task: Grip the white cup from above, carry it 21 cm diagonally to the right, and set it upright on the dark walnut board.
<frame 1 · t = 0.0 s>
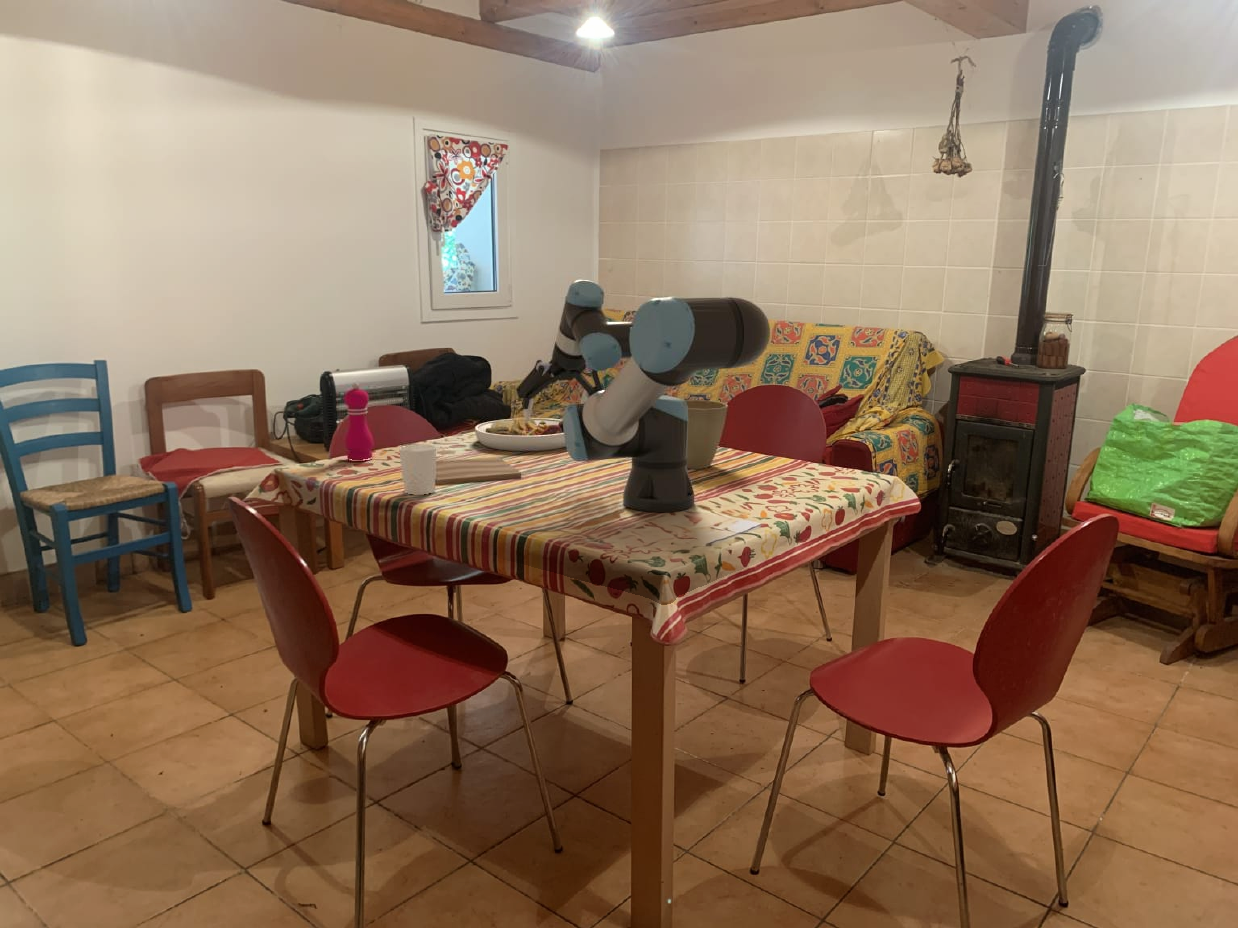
hand: (554, 415, 207), 15 cm above the table, tool tilted 35°, fingers open, 13 cm apart
bowl: (528, 444, 256), on the table
plant pot: (696, 467, 226), on the table
white cup: (419, 492, 198), on the table
pepper mill: (360, 460, 231), on the table
walnut board: (469, 472, 217), on the table
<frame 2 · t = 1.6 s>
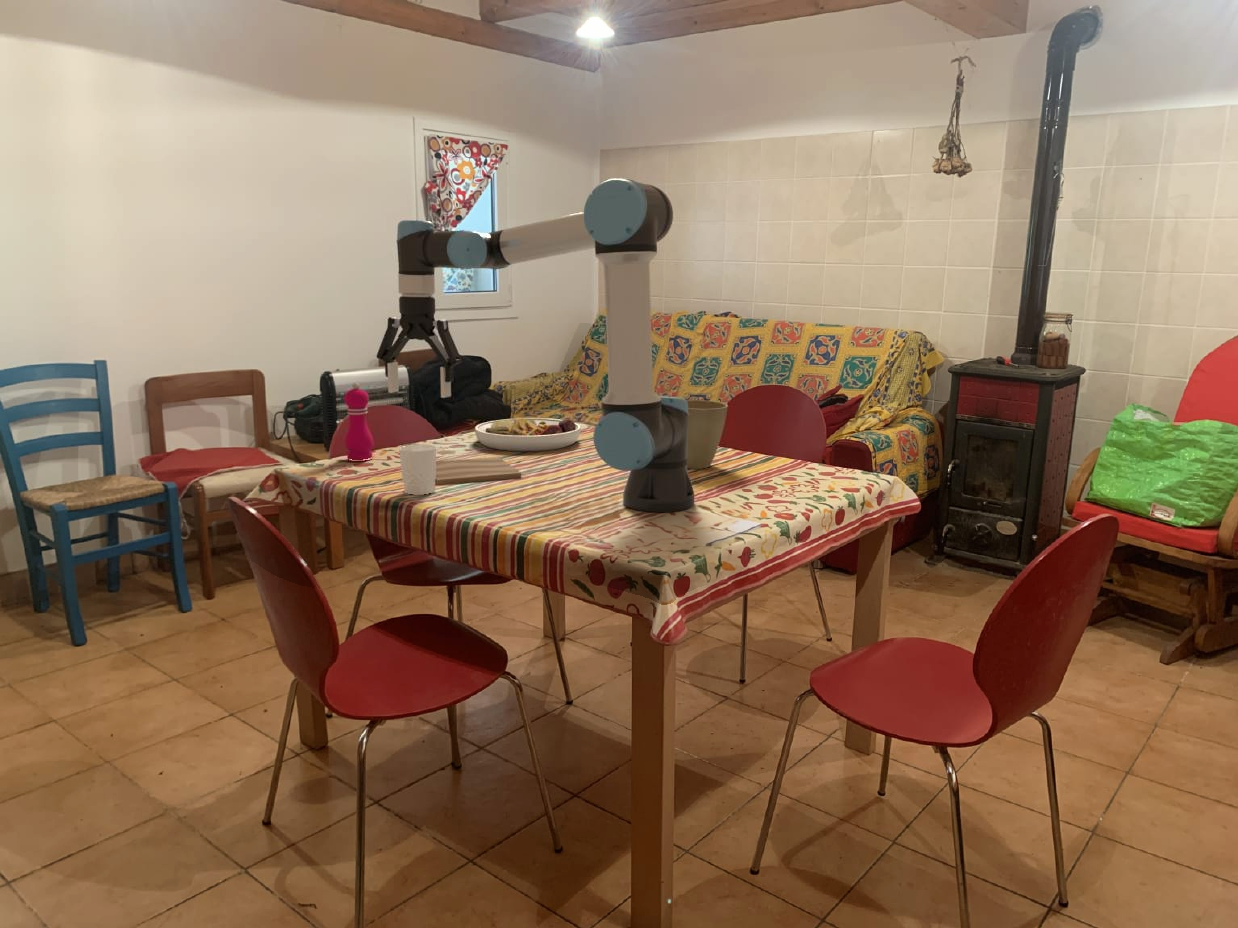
hand: (419, 394, 194), 22 cm above the table, tool pointing down, fingers open, 13 cm apart
nothing on the table moved.
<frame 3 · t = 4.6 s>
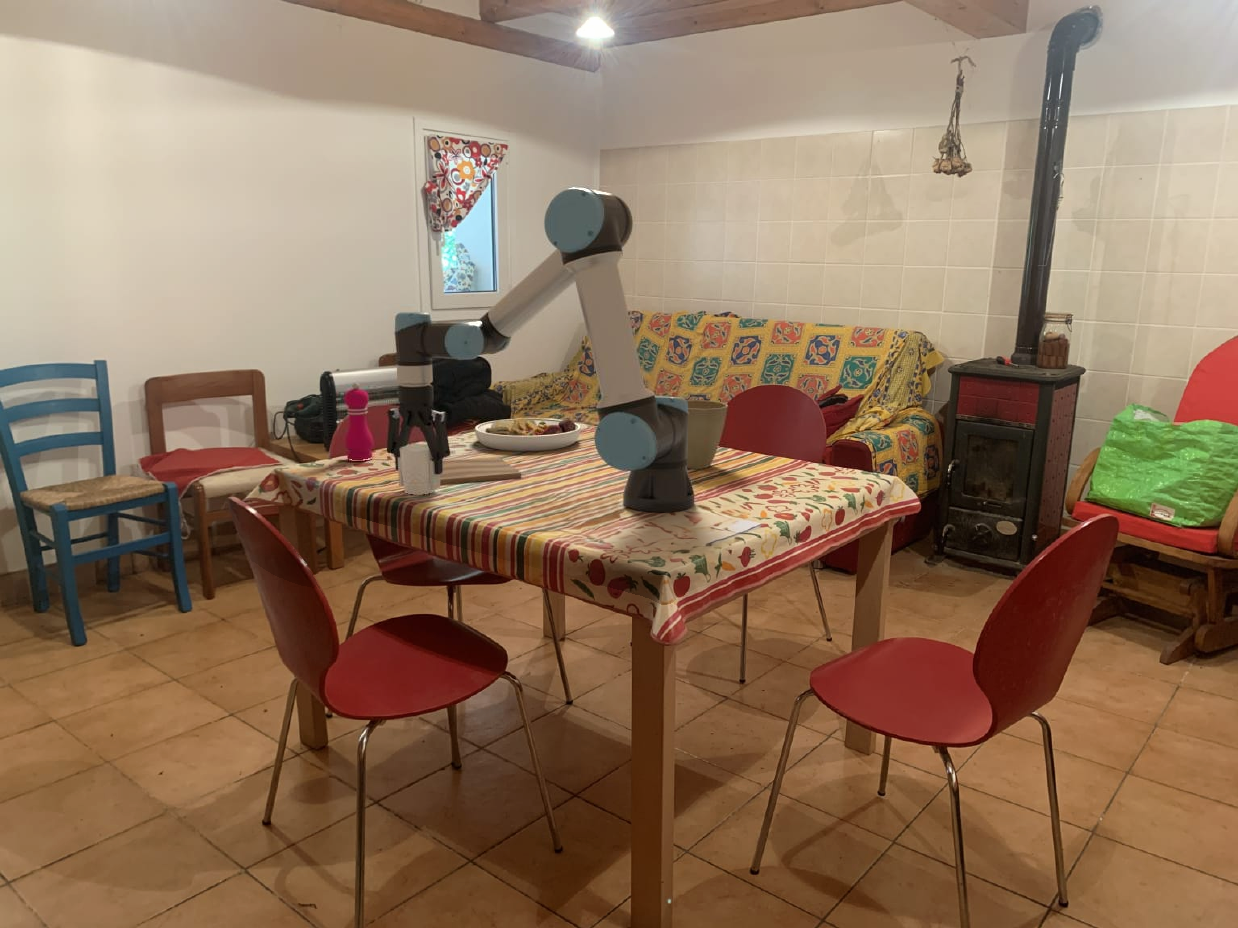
hand: (419, 486, 198), 1 cm above the table, tool pointing down, fingers closed on white cup, 8 cm apart
white cup: (419, 492, 198), on the table, touching gripper
everything else where it was.
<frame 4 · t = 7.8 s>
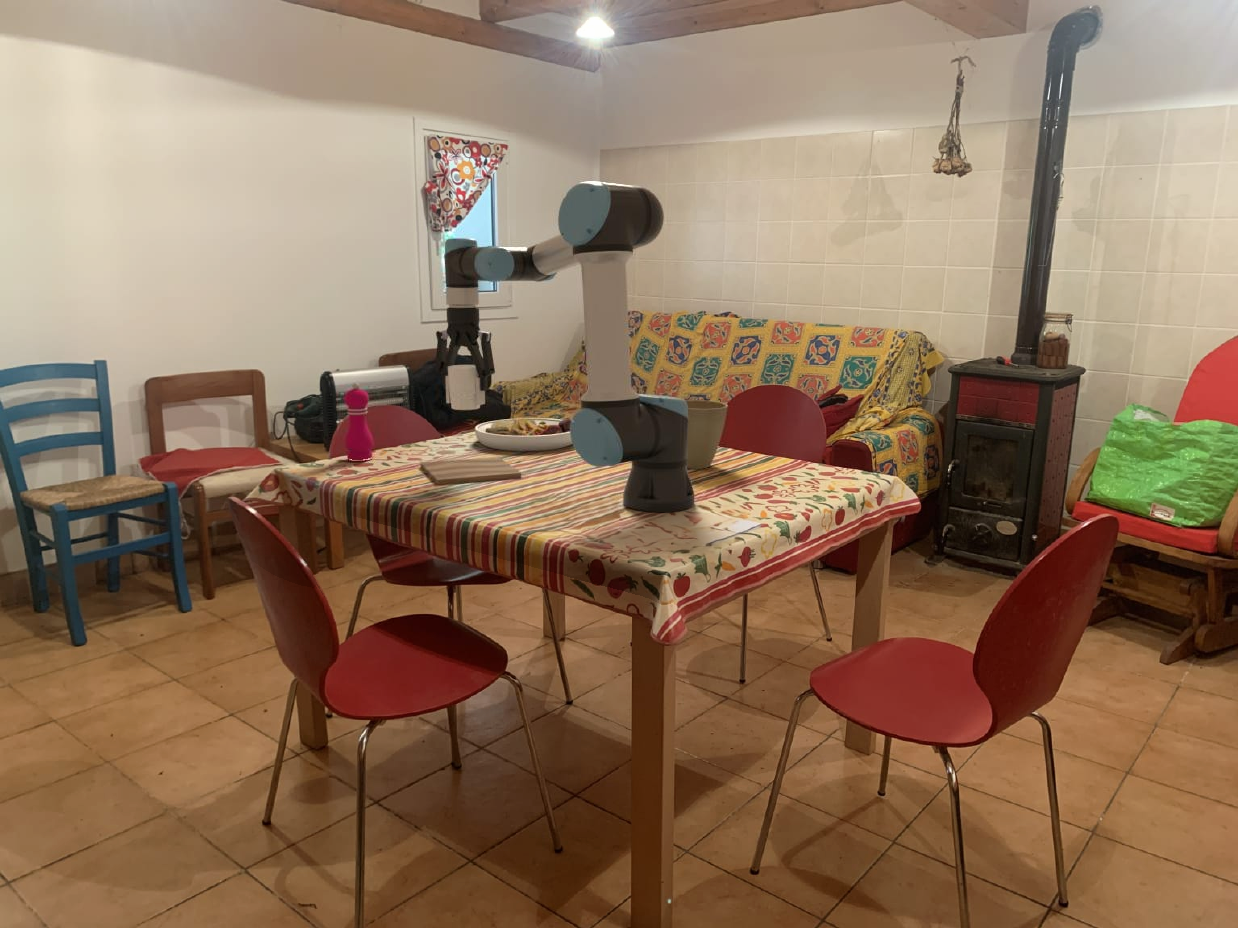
hand: (465, 403, 213), 17 cm above the table, tool pointing down, fingers closed on white cup, 8 cm apart
white cup: (465, 409, 213), point 16 cm above the table, touching gripper
everything else where it was.
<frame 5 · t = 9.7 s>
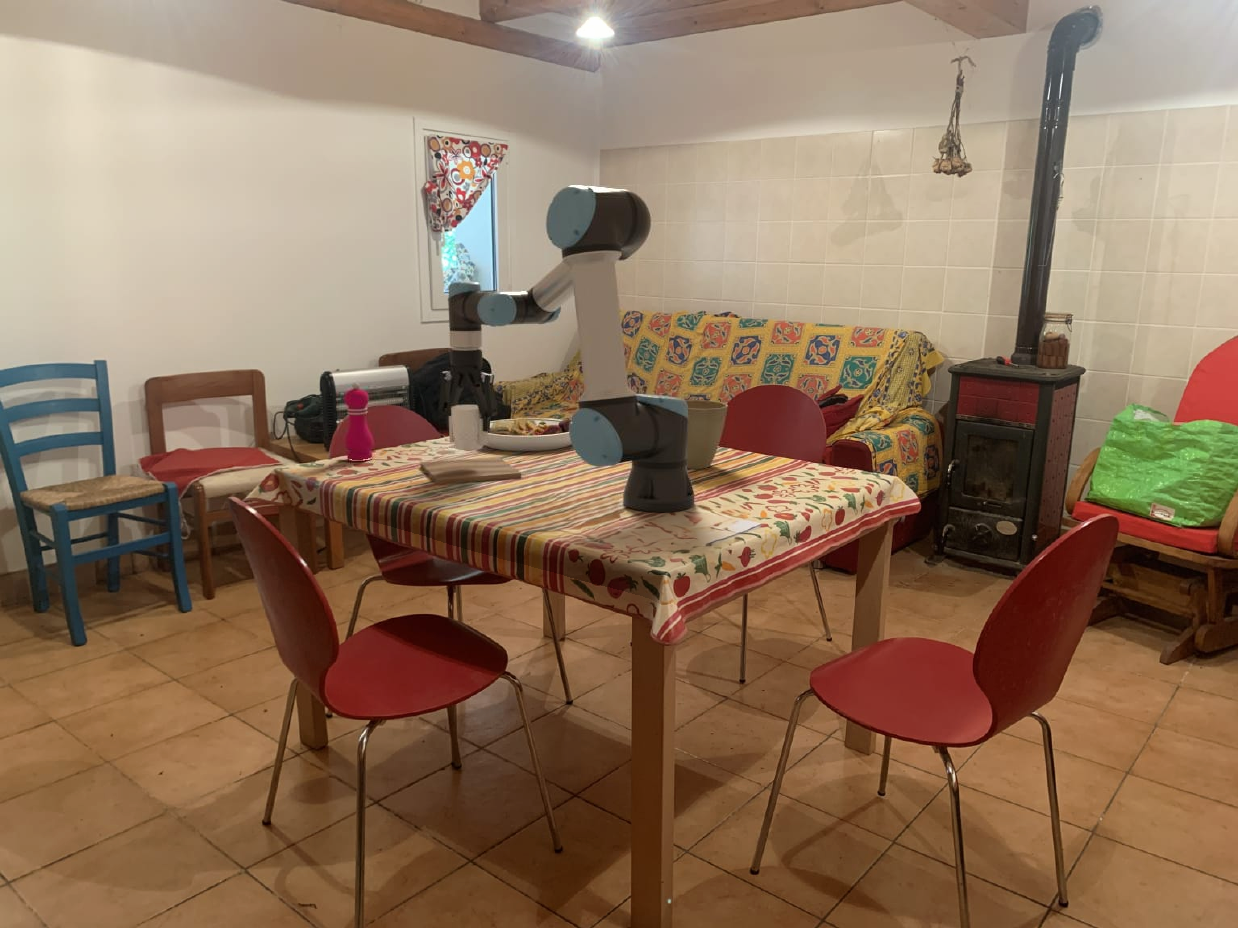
hand: (468, 443, 216), 7 cm above the table, tool pointing down, fingers closed on white cup, 8 cm apart
white cup: (468, 448, 216), point 6 cm above the table, touching gripper
everything else where it was.
when the fingers open (4 cm above the table, at t = 11.2 s): white cup drops 1 cm, point 1 cm above the table.
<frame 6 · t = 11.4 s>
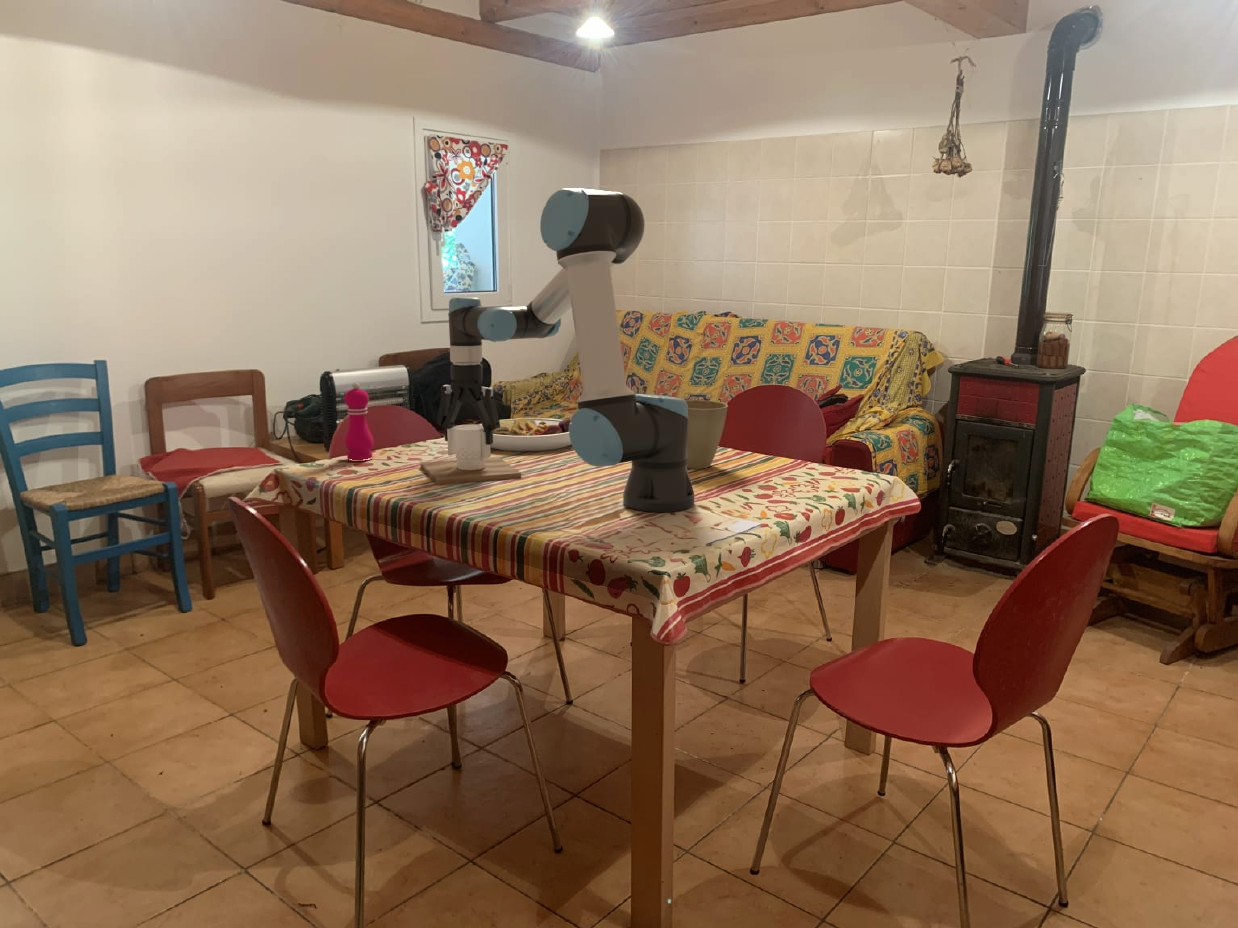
hand: (469, 456, 216), 4 cm above the table, tool pointing down, fingers open, 9 cm apart
white cup: (471, 468, 217), point 1 cm above the table, touching gripper
everything else where it was.
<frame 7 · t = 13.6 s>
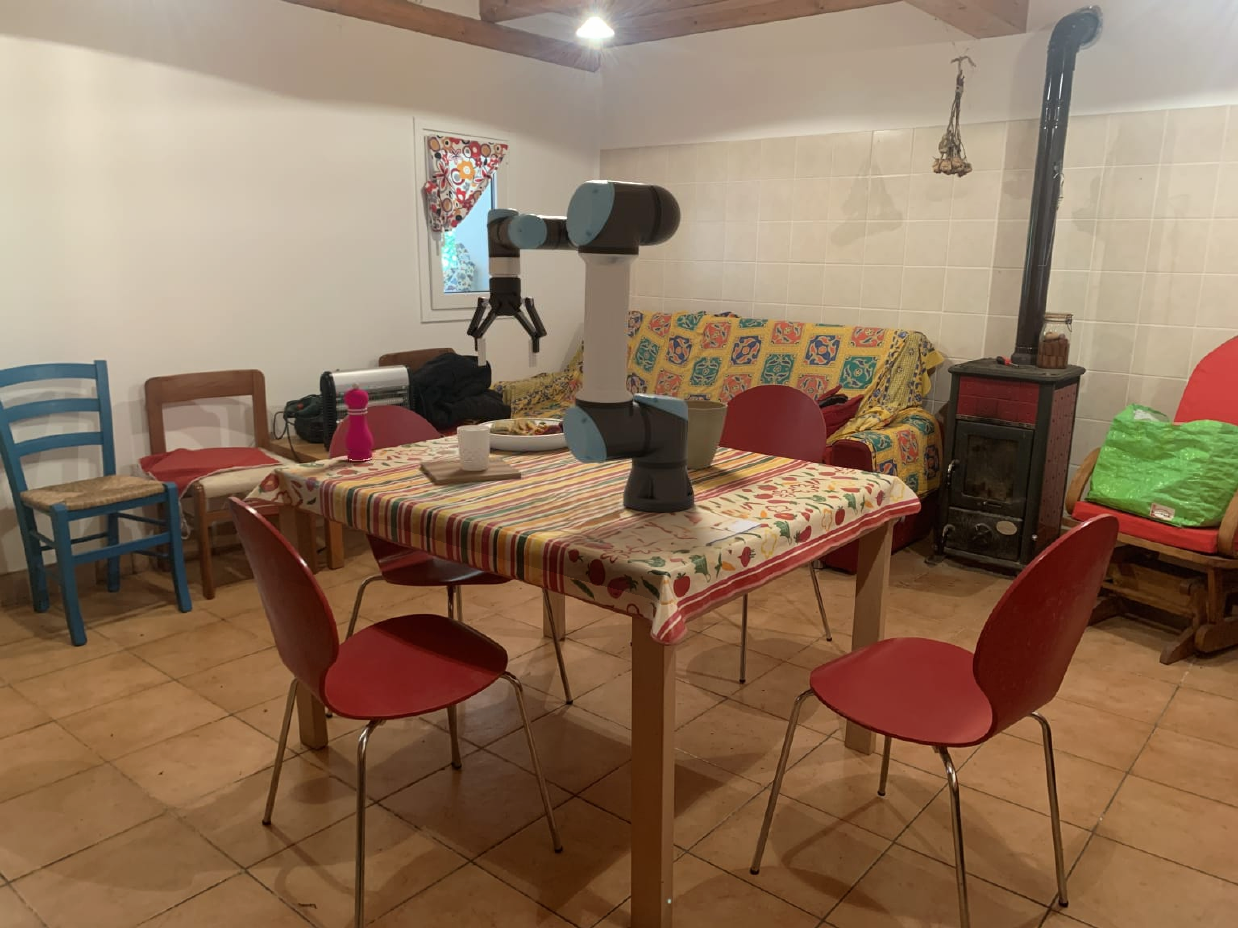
hand: (507, 366, 216), 26 cm above the table, tool pointing down, fingers open, 13 cm apart
white cup: (474, 469, 216), point 1 cm above the table, touching walnut board
everything else where it was.
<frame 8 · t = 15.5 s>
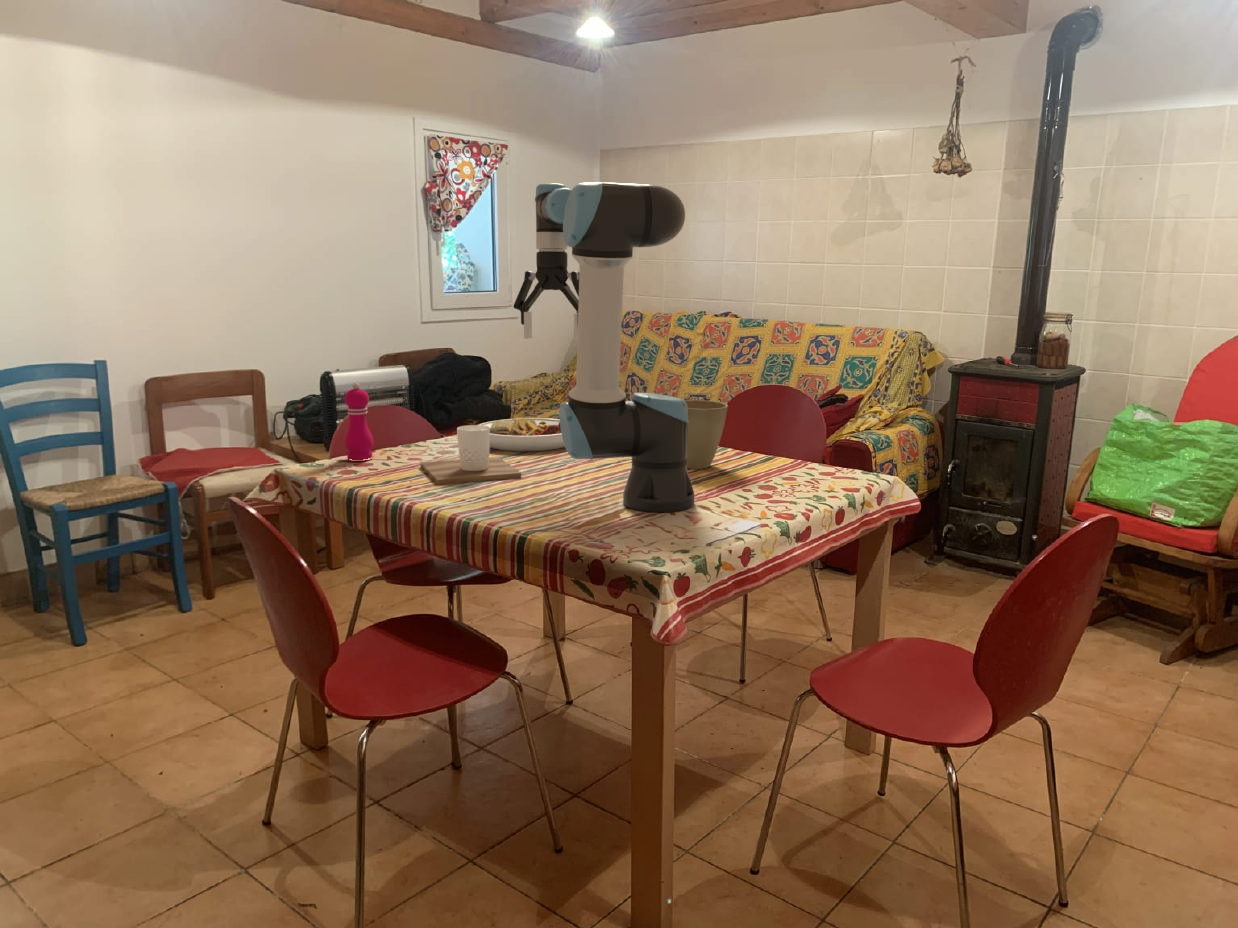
hand: (552, 339, 220), 32 cm above the table, tool pointing down, fingers open, 13 cm apart
nothing on the table moved.
at the end: white cup inside the target area on the walnut board (1.6 cm from its centre), point 1.0 cm above the walnut board's base; white cup tilted 0°; the gripper is holding nothing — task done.
